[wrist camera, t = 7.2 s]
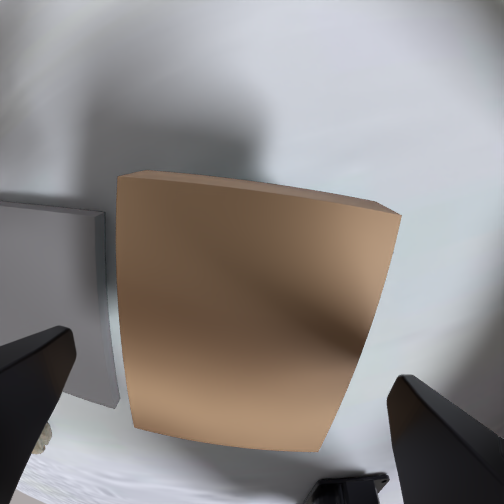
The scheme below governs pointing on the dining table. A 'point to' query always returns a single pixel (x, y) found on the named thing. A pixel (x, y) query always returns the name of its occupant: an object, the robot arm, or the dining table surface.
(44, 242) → the mat
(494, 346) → the dining table surface
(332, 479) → the robot arm
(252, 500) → the dining table surface
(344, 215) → the lid
